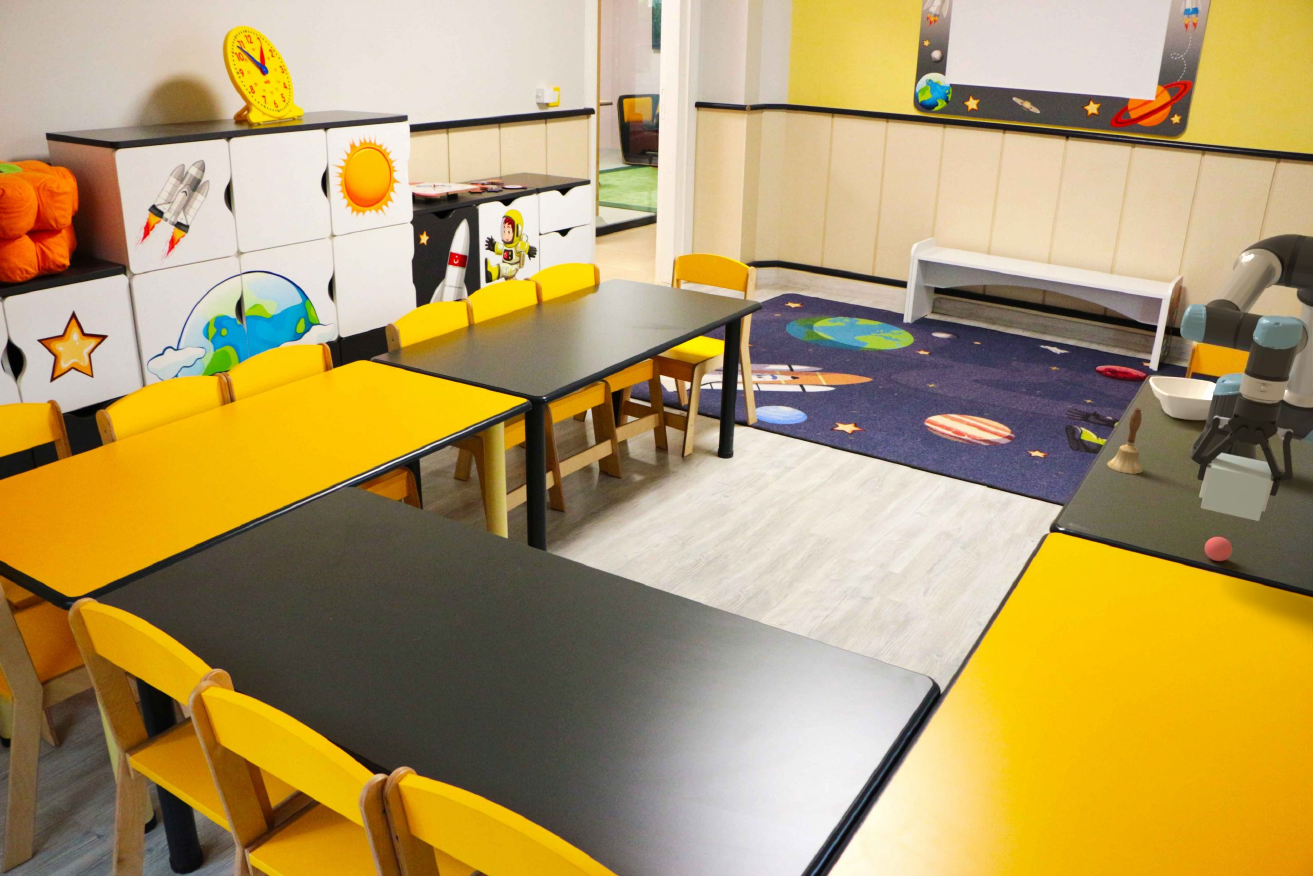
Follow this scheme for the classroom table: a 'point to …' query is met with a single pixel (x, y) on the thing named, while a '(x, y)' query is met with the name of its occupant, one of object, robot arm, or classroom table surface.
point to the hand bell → (1128, 449)
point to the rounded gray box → (1237, 486)
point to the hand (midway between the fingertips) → (1231, 502)
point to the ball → (1218, 548)
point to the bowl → (1183, 396)
